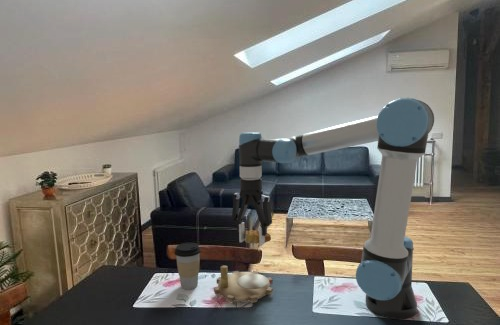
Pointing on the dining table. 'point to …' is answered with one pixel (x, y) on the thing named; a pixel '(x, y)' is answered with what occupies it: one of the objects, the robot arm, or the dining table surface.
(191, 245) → the coffee cup
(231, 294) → the turntable
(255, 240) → the pastry
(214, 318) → the dining table surface
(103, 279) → the dining table surface
